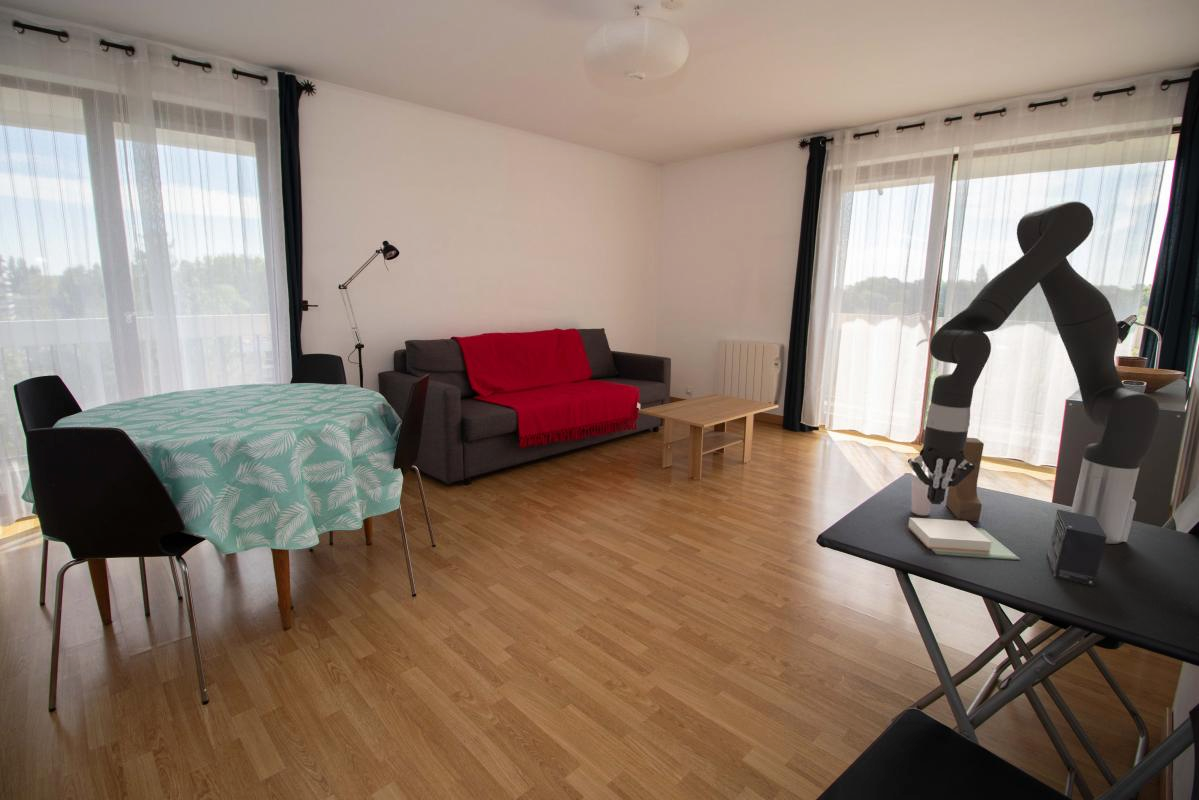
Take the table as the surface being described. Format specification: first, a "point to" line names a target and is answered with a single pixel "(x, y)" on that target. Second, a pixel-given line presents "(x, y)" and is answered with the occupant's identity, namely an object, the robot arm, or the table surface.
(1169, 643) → the table surface
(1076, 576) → the small box
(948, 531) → the tile
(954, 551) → the mat
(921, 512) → the smoothie
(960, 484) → the wooden block
